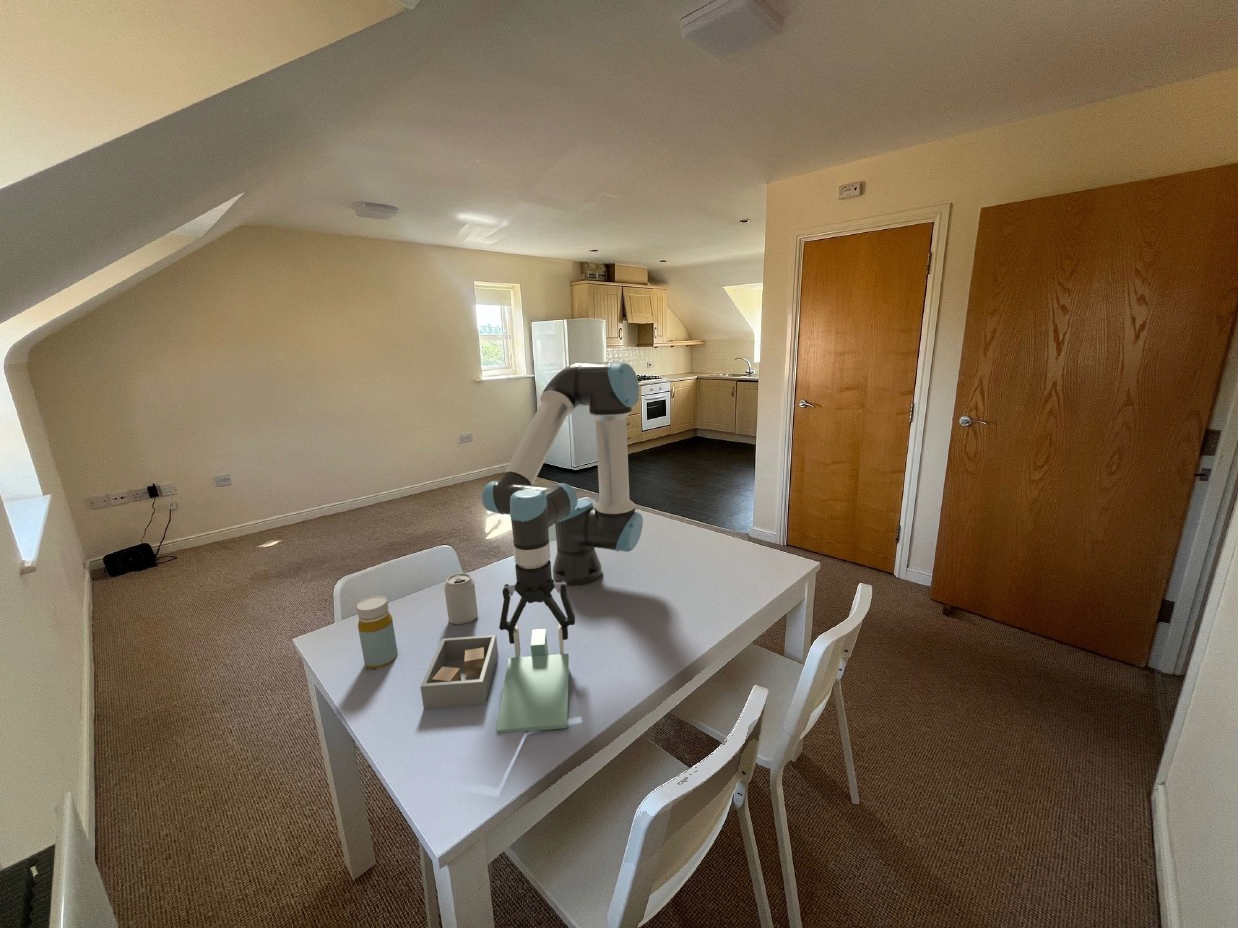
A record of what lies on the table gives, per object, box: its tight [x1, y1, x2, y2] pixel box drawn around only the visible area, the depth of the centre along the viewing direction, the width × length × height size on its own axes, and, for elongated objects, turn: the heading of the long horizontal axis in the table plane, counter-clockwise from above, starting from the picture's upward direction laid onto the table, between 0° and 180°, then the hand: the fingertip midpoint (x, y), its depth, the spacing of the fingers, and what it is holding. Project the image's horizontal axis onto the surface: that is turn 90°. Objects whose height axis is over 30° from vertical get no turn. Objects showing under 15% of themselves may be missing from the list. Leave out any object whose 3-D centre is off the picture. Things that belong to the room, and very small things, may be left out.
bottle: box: [356, 595, 399, 671], centre depth 112 cm, size 7×7×15 cm
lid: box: [495, 628, 570, 734], centre depth 102 cm, size 13×23×7 cm, turn 4°
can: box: [443, 572, 479, 626], centre depth 129 cm, size 8×8×12 cm
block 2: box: [464, 647, 485, 678], centre depth 108 cm, size 4×4×4 cm
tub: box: [419, 634, 499, 710], centre depth 105 cm, size 12×16×6 cm
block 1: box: [432, 667, 461, 683], centre depth 102 cm, size 4×4×4 cm
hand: (540, 652), depth 111 cm, fingers open, 9 cm apart
